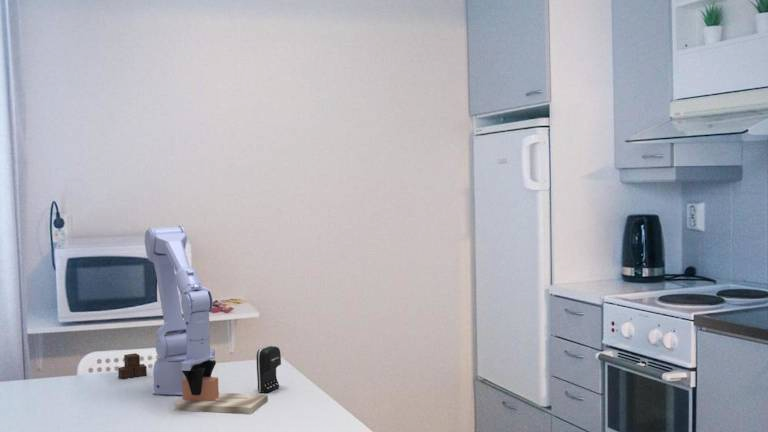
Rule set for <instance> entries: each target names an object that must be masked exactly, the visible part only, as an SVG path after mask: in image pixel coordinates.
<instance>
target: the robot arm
mask: <svg viewBox="0 0 768 432" xmlns="http://www.w3.org/2000/svg"><path fill="white" fill-rule="evenodd" d="M187 239H188V238H187V231H186V229H185V227H184V226H182V225H178V226H165V227H164V226H162V227H148V228H147V229H146V231H145V233H144V246H145V253H146V257H147V260H148V261H149V262H150V263H153V265H154V270H155V274H156V275H155V276H156V280H157V282H156V283H157V287H158V291H159V292H158V293H159V298H160V299H159V300H160V305H161V311H162V318H163V323H162V324H161V326H160V327H159V328H158V329H157V330H156V332H155V334H154V335H155V352H156V354H157V356H158V358H157V359H156V360H155V361H154V363H153V369H152V370H153V372H152V373H153V391H152V394H153V395H164V396H165V395H166V396H167V395H170V396H183V392H182V380H183V379H185V378H187V381H188V383H189V387H190V390H191V393H192V395H200V394H201V389H202V379H203V377H212V374H213V371H214V368H215V366H216V365H217V362H216V360H215V358H216V349H211V337H210V336H211V331H210V312H212V310H213V305H214V301H213V296H212V293H211V290H210V289H208V288H207V287H206V286H203V283H202V281H201V278H200V277H199V275H198V271H197V270H196V268H194V267H191V266H190V264H189V260H188V256H187V253H186V245H187V241H188V240H187ZM179 293H180V296H181V301H180V296H179Z"/></svg>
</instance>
